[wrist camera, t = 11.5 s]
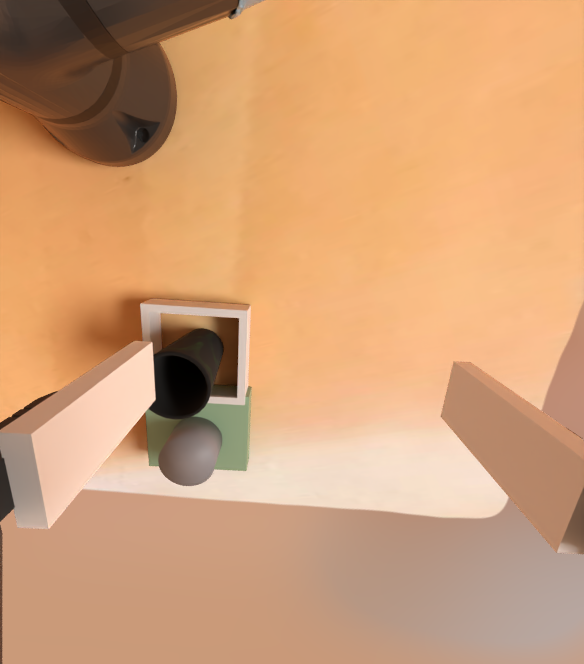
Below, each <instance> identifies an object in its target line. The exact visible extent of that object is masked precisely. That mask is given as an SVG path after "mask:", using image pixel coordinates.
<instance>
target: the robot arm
mask: <svg viewBox="0 0 584 664" xmlns="http://www.w3.org/2000/svg"><path fill="white" fill-rule="evenodd" d="M262 1H264V0H0V100H1V101H3V102H6V103H8V104H10V105H12V106H14V107H16V108H19V109H21V110H23V111H25V112H28V113H30V114H32V115H33V116H34V117H35V118H36V119H37V120H38V121H39V122H41V123H42V124H43V126H44V127H45V128H46V129H47V130H48V132H49V133H50V134H51V135H52V136H53V137H54V138H55V139H56V140H57V141H58V142H60V143H61V144H62V145H63V146H65V147H66V148H68V149H69V150H71V151H72V152H74V153H76V154H78V155H79V156H82V157H84V158H86V159H89V160H91V161H94V162H97V163H99V164H103V165H108V166H117V167H120V166H129V165H134V164H137V163H139V162H142V161H144V160H146V159H147V158H149V157H150V156H152V155H153V154H154V153H155V152H156V151H158V149H159V148H160V147H161V146H162V145H163V143H164V142H165V140H166V139H167V137H168V135H169V133H170V131H171V129H172V126H173V123H174V119H175V114H176V106H177V92H176V84H175V78H174V74H173V71H172V68H171V65H170V62H169V60H168V58H167V56H166V54H165V52H164V50H163V48H162V47H161V45H160V43H159V42H162V41H164V40H167V39H170V38H172V37H175V36H178V35H180V34H183V33H186V32H188V31H191V30H194V29H196V28H199V27H202V26H204V25H207V24H210V23H212V22H215V21H218V20H220V19H223V18H226V17H229V18H230V19H233V18H236V17H238V16H239V15H240V14H241V12H242V11H243V10H244V9H246V8H248V7H251V6H253V5H255V4H257V3H260V2H262ZM155 400H156V398H155V381H154V363H153V345H152V342H146V341H133V342H132V343H130V344H129V345H127V346H125V347H124V348H122V349H121V350H119V351H118V352H116V353H115V354H113V355H112V356H110V357H109V358H107V359H106V360H104V361H103V362H101V363H100V364H98V365H97V366H95V367H94V368H92V369H91V370H89V371H88V372H86V373H85V374H83V375H82V376H80V377H79V378H77V379H76V380H74V381H73V382H71V383H70V384H68V385H67V386H65V387H64V388H62V389H61V390H59V391H56V392H53V393H51V394H48V395H46V396H43V397H41V398H38V399H37V400H35V401H33V402H32V403H30V404H29V405H27V406H26V407H24V409H21V410H19V411H18V412H16V413H15V414H13V415H12V417H8V418H7V419H5V420H4V421H2V422H1V423H0V521H1V520H2V519H3V518H4V517H5V516H6V515H7V514H8V513H10V512H11V510H13V509H14V513H15V518H16V522H17V527H18V528H37V529H49V528H50V527H51V526H52V524H53V523H54V522H55V521H56V520H57V519H58V517H59V516H60V515H61V514H62V513H63V511H64V510H65V509H66V508H67V506H68V505H69V504H70V503H71V502H72V500H73V499H74V498H75V497H76V496H77V494H78V493H79V492H80V491H81V489H82V488H83V487H84V486H85V485H86V483H87V482H88V481H89V480H90V479H91V477H92V476H93V475H94V474H95V472H96V471H97V470H98V469H99V468H100V466H101V465H102V464H103V463H104V462H105V460H106V459H107V458H108V457H109V455H110V454H111V453H112V452H113V451H114V449H115V448H116V447H117V446H118V445H119V443H120V442H121V441H122V440H123V439H124V437H125V436H126V435H127V434H128V432H129V431H130V430H131V429H132V428H133V426H134V425H135V424H136V423H137V422H138V420H139V419H140V418H141V417H142V415H143V414H144V413H145V412H146V411H147V409H148V408H149V407H150V406H151V405H152V403H153V402H154V401H155ZM441 417H442V419H443V420H444V421H445V422H446V423H447V424H448V426H449V427H450V428H451V429H452V430H453V432H454V433H455V434H456V435H457V436H458V437H459V439H460V440H461V441H462V442H463V443H464V444H465V446H466V447H467V448H468V449H469V450H470V452H471V453H472V454H473V455H474V456H475V457H476V459H477V460H478V461H479V462H480V463H481V464H482V466H483V467H484V468H485V469H486V470H487V472H488V473H489V474H490V475H491V476H492V477H493V479H494V480H495V481H496V482H497V483H498V484H499V486H500V487H501V488H502V489H503V490H504V492H505V493H506V494H507V495H508V496H509V497H510V499H511V500H512V501H513V502H514V503H515V504H516V506H517V507H518V508H519V509H520V510H521V512H522V513H523V514H524V515H525V516H526V517H527V518H528V520H529V521H530V522H531V523H532V524H533V526H534V527H535V528H536V529H537V530H538V532H539V533H540V534H541V535H542V536H543V537H544V538H545V540H546V541H547V542H548V543H549V544H550V546H551V547H552V548H553V549H554V550H555V552H556V553H571V554H584V440H583V439H582V438H581V437H579V436H578V435H577V434H575V433H574V432H572V431H571V430H569V429H567V428H566V427H564V426H563V425H561V424H560V423H558V422H557V421H555V420H554V419H552V418H551V417H549V416H548V415H546V414H545V413H544V412H542V411H541V410H539V409H538V408H536V407H535V406H533V405H532V404H530V403H529V402H528V401H526V400H525V399H523V398H522V397H520V396H519V395H517V394H516V393H514V392H513V391H512V390H510V389H509V388H507V387H506V386H504V385H503V384H501V383H500V382H498V381H497V380H495V379H494V378H493V377H491V376H490V375H488V374H487V373H485V372H484V371H482V370H481V369H479V368H478V367H477V366H475V365H474V364H472V363H471V362H455V361H454V362H453V366H452V370H451V375H450V379H449V383H448V387H447V392H446V396H445V400H444V405H443V409H442V413H441ZM0 664H2V530H1V526H0Z"/></svg>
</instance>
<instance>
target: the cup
mask: <svg viewBox="0 0 584 664" xmlns="http://www.w3.org/2000/svg"><path fill="white" fill-rule="evenodd" d="M222 355H223V343H222V341H221V339H220V337H219V336H218V335H217V334H216V333H214V332H213V331H210V330H208V329H196V330H193V331H192V332H190V333H188V334H187V335H185V336H183V337H182V338H180V339H178V340H177V341H175V342H174V343H172V344H170V345H169V346H167V347H165V348H164V349H162V350H160V351H159V352H157V353H155V354H154V355H153V363H154V381H155V398H156V400H155V401H154V402H153V403H152V405H151V406H150V407H149V408H148V409H149V410H150V411H152V412H154V413H155V414H157V415H159V416H162V417H164V418H168V419H174V420H176V419H186V418H189V417H192V416H194V415H196V414H198V413H199V412H200V411H201V410H202V409H203V408H205V406H206V404H207V403H208V401H209V398H210V395H211V391H212V388H213V385H214V381H215V378H216V375H217V371H218V368H219V365H220V361H221V358H222Z"/></svg>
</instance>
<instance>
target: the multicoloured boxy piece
mask: <svg viewBox="0 0 584 664" xmlns="http://www.w3.org/2000/svg"><path fill="white" fill-rule="evenodd" d="M140 309H141V324H142V338H143V341H146V342H152V345H153V355H154V354H155V353H157V352H159V351H160V350H162V334H161V314H160V313H169V314H184V315H199V316H214V317H230V318H239V346H238V386H228V385H213V388H212V391H211V395H210V398H209V401H208V403H207V404H206V406H205V408H203V409H202V410H201V411H200V412H199V413H198V414H196V415H194V416H192V417H189V418H186V419H176V420H174V419H168V418H164V417H162V416H159V415H157V414H155V413H154V412H152V411H150V410H149V409H147V411H146V412H145V413H146V427H147V441H148V456H149V466H159V467H160V470H161V472H162V473H163V474H164V476H165V477H166V478H168V479H169V480H170V481H172V482H174V483H176V484H179V485H183V486H194V485H198V484H201V483H203V482H205V481H206V480H207V479H208V478H209V477H210V476H211V475H212V473H213V471H214V469H219V470H238V471H246V470H247V465H248V459H249V440H250V413H251V387H248V373H249V343H250V314H251V305H244V304H229V303H215V302H200V301H185V300H170V299H155V298H152V299H149V300H147V301H145V302H143V303H140Z"/></svg>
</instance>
